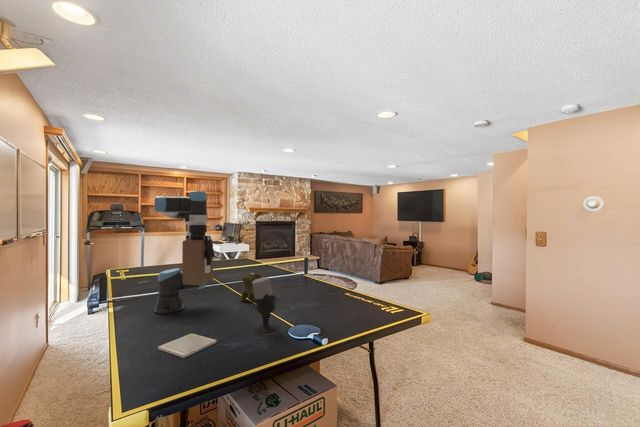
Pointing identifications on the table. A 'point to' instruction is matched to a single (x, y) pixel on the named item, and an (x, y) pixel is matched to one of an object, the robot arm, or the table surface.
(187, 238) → the robot arm
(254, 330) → the microphone
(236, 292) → the table surface
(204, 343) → the tile
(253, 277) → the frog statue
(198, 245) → the wooden block
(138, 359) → the table surface
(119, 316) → the table surface
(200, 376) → the table surface
